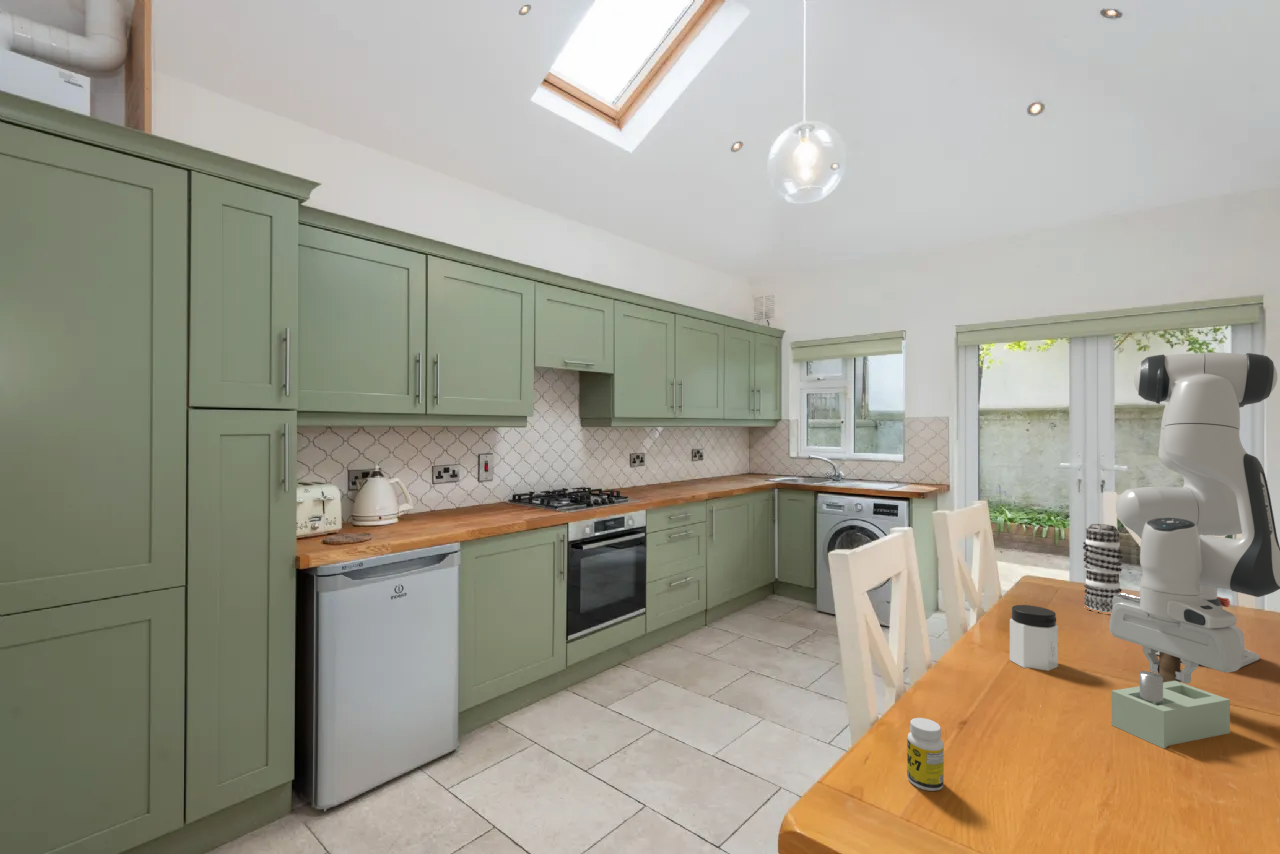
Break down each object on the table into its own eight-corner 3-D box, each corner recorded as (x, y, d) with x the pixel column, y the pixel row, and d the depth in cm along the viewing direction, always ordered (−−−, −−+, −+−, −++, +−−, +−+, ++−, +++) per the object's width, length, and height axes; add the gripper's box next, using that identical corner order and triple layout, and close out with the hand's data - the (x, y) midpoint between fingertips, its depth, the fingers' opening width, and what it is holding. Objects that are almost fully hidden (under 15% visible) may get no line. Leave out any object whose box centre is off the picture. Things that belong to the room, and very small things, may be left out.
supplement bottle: (900, 773, 87) (901, 716, 87) (931, 772, 88) (931, 715, 88) (918, 793, 82) (918, 732, 83) (950, 791, 83) (950, 731, 83)
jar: (1045, 675, 124) (1045, 618, 124) (1004, 662, 131) (1004, 608, 131) (1063, 666, 129) (1063, 611, 129) (1023, 654, 136) (1023, 602, 136)
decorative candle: (1074, 607, 175) (1074, 523, 175) (1099, 605, 177) (1099, 522, 178) (1105, 616, 166) (1105, 527, 167) (1131, 614, 168) (1130, 527, 169)
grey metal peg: (1147, 728, 102) (1147, 670, 102) (1167, 736, 99) (1167, 677, 99) (1135, 730, 101) (1135, 672, 101) (1155, 739, 98) (1154, 679, 98)
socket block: (1175, 713, 107) (1175, 680, 107) (1230, 735, 100) (1229, 699, 100) (1111, 725, 103) (1111, 690, 103) (1163, 748, 95) (1163, 711, 95)
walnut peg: (1166, 692, 114) (1166, 640, 114) (1184, 698, 111) (1184, 646, 111) (1155, 693, 113) (1155, 641, 113) (1173, 700, 110) (1173, 647, 110)
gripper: (1101, 591, 121) (1101, 657, 121) (1223, 622, 102) (1223, 702, 102) (1124, 588, 123) (1124, 654, 123) (1248, 619, 103) (1247, 698, 103)
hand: (1169, 676), depth 112 cm, fingers closed on walnut peg, 3 cm apart
